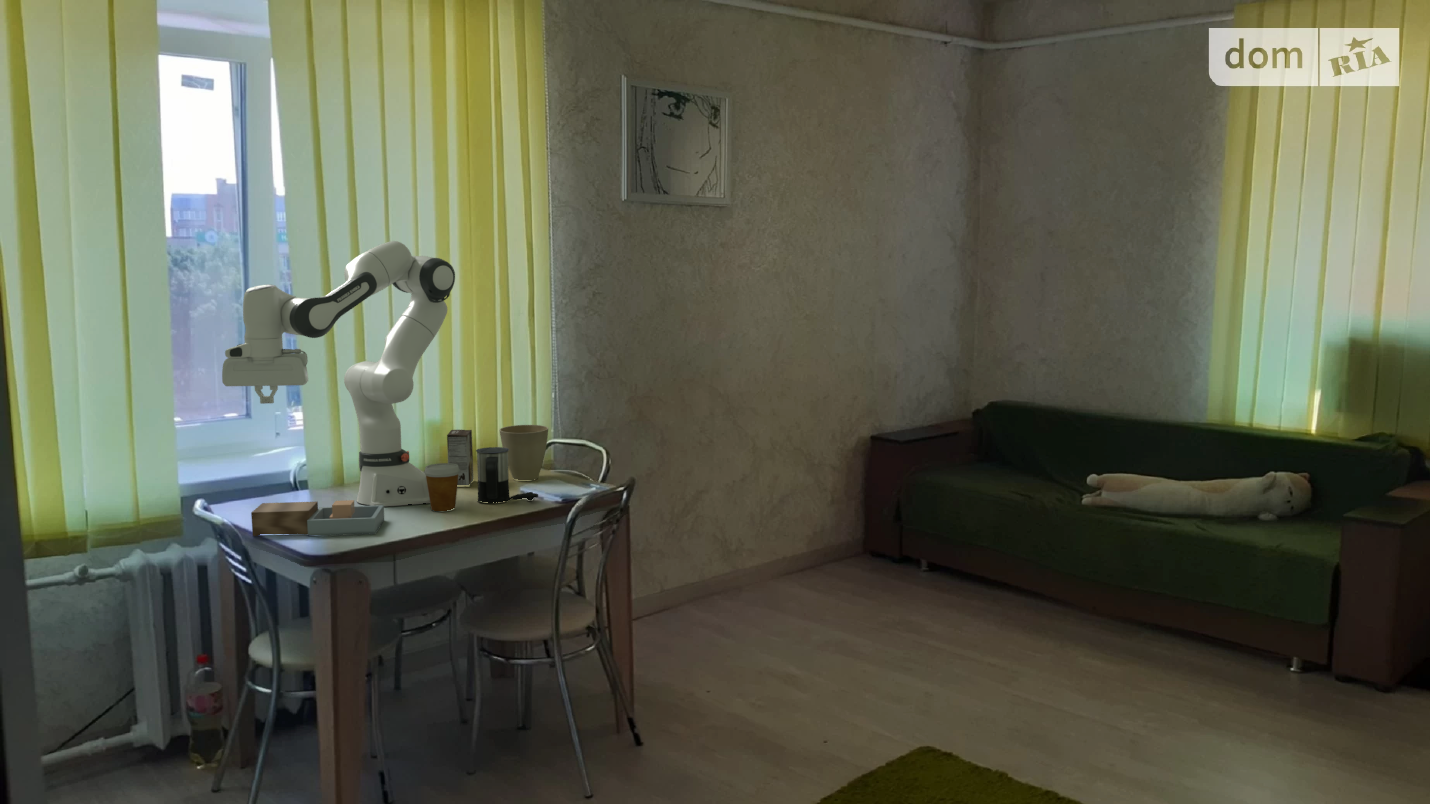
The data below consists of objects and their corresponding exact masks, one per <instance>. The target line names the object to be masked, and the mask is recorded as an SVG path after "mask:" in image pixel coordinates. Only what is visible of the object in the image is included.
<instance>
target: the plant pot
mask: <svg viewBox="0 0 1430 804" xmlns="http://www.w3.org/2000/svg"><path fill="white" fill-rule="evenodd" d="M499 436H500V441H501V447H503V448H508V449H509V451H508V471H509V472H510V474H511V477H512V479H513V478H514V479H518V480H534V479H537V478H539V476H540V474H541V470H542V466H543V463H544V459H545V454H546V450H547V444H548V443H547V442H548V437H549V426H546V425H540V424H519V425H518V424H517V425H516V424H515V425H508V426H503V427H501V428H499ZM514 479H513V480H514ZM537 480H538V479H537ZM534 481H535V480H534Z"/></svg>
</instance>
